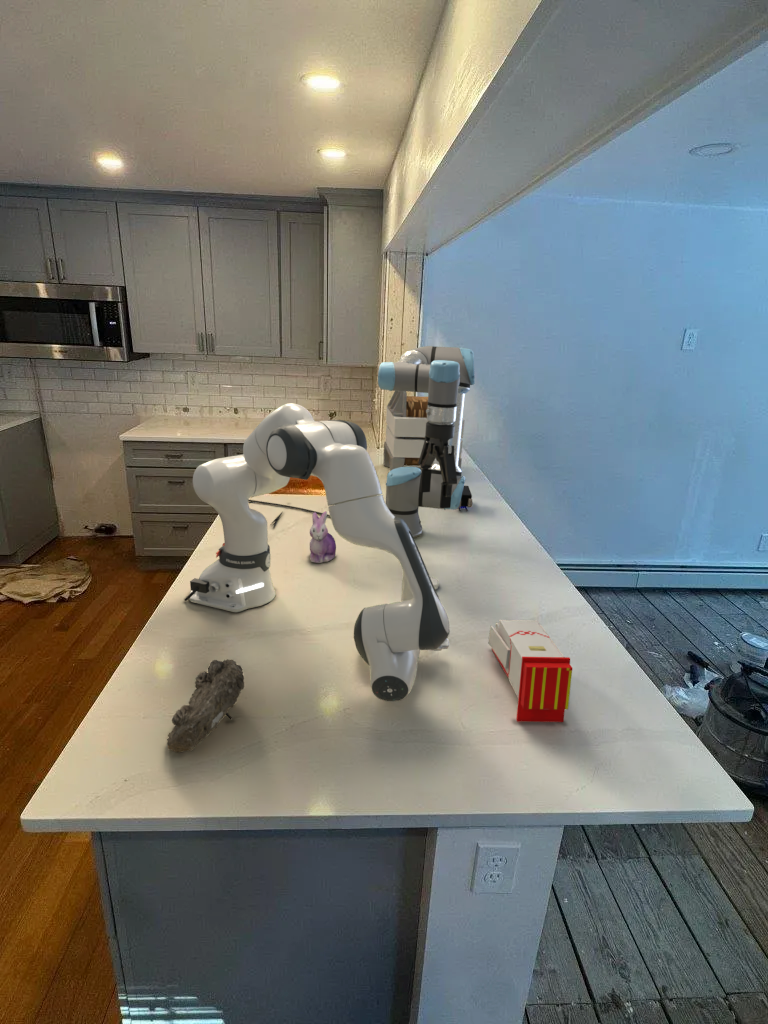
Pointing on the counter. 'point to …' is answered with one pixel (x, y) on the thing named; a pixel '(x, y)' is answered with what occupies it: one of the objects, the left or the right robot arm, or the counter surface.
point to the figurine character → (465, 499)
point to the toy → (533, 669)
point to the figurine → (321, 540)
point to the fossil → (206, 705)
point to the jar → (406, 590)
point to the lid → (434, 582)
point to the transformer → (407, 430)
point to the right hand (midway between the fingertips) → (434, 499)
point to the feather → (276, 520)
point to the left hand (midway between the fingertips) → (407, 613)
